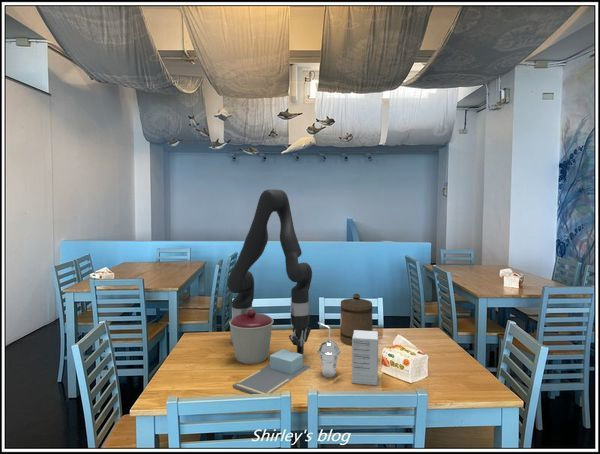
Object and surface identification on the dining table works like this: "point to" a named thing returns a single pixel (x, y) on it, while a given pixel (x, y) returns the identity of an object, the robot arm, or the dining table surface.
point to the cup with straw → (328, 356)
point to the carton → (286, 361)
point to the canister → (251, 337)
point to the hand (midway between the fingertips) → (300, 354)
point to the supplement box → (365, 357)
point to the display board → (266, 380)
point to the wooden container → (354, 317)
